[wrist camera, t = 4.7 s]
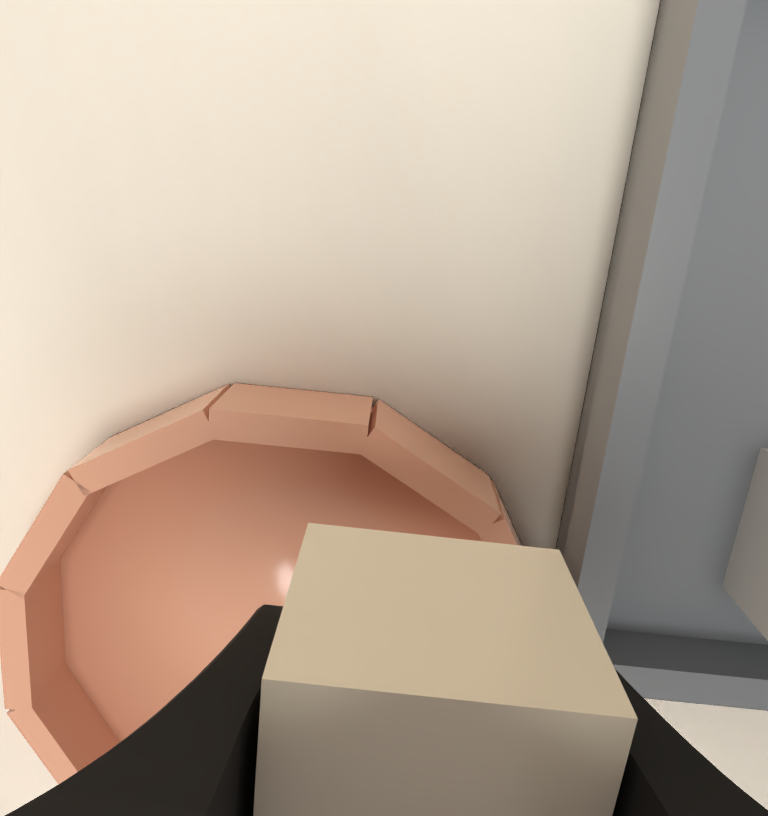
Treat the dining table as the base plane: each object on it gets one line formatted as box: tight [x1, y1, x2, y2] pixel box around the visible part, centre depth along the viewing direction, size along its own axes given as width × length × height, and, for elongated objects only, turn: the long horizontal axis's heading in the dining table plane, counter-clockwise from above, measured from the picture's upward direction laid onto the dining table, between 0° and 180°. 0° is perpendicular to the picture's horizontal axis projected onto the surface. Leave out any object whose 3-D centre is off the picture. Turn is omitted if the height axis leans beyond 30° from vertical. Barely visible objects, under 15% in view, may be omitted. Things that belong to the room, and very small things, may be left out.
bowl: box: [0, 383, 521, 784], centre depth 20 cm, size 16×16×3 cm
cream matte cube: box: [253, 523, 638, 816], centre depth 10 cm, size 4×4×4 cm
